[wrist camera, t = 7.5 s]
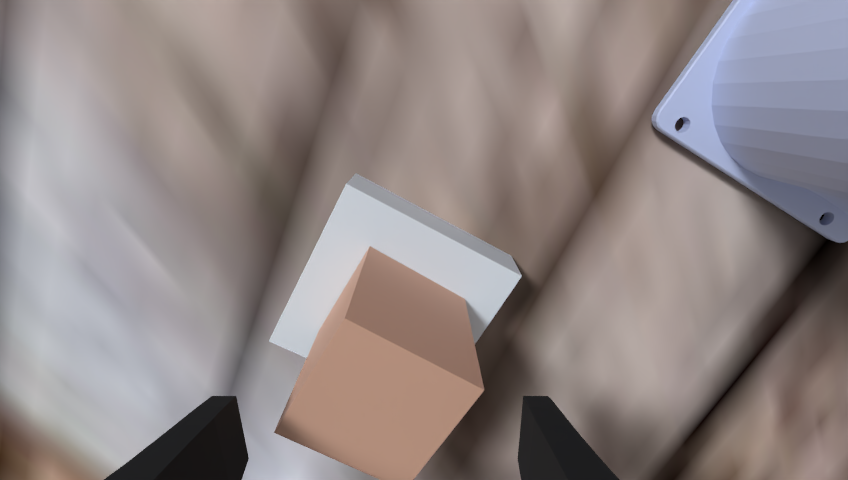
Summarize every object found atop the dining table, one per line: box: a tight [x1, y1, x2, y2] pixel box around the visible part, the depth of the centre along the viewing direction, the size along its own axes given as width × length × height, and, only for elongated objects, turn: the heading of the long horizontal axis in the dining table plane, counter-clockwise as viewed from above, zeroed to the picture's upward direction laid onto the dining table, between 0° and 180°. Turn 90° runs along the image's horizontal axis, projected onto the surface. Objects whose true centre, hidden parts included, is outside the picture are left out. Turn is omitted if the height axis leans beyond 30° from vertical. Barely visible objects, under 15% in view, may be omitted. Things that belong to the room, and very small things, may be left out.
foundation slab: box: [269, 173, 522, 358], centre depth 17 cm, size 7×7×2 cm
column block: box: [274, 246, 484, 480], centre depth 13 cm, size 4×4×5 cm
